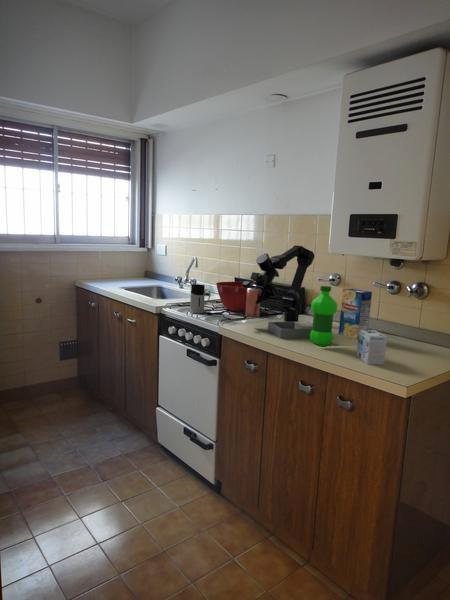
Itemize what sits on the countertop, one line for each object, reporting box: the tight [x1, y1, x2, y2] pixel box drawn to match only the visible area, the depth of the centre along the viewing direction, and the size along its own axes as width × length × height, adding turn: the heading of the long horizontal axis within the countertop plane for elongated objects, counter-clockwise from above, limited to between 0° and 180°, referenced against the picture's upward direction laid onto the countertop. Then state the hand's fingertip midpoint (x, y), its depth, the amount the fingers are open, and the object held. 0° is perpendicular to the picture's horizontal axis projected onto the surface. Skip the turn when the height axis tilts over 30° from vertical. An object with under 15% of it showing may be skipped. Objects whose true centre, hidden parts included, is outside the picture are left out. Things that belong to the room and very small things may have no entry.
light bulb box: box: [356, 329, 388, 366], centre depth 159 cm, size 11×7×11 cm, turn 5°
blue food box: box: [338, 288, 373, 341], centre depth 193 cm, size 7×11×22 cm, turn 34°
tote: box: [267, 321, 313, 340], centre depth 192 cm, size 20×15×5 cm
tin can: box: [245, 288, 261, 318], centre depth 199 cm, size 6×6×13 cm
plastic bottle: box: [309, 285, 338, 348], centre depth 176 cm, size 10×10×25 cm
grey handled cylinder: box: [189, 283, 211, 314], centre depth 236 cm, size 9×14×15 cm, turn 46°
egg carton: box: [294, 321, 313, 329], centre depth 193 cm, size 6×9×5 cm
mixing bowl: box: [215, 281, 262, 312], centre depth 250 cm, size 28×28×15 cm
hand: (251, 302), depth 198 cm, fingers closed on tin can, 6 cm apart
